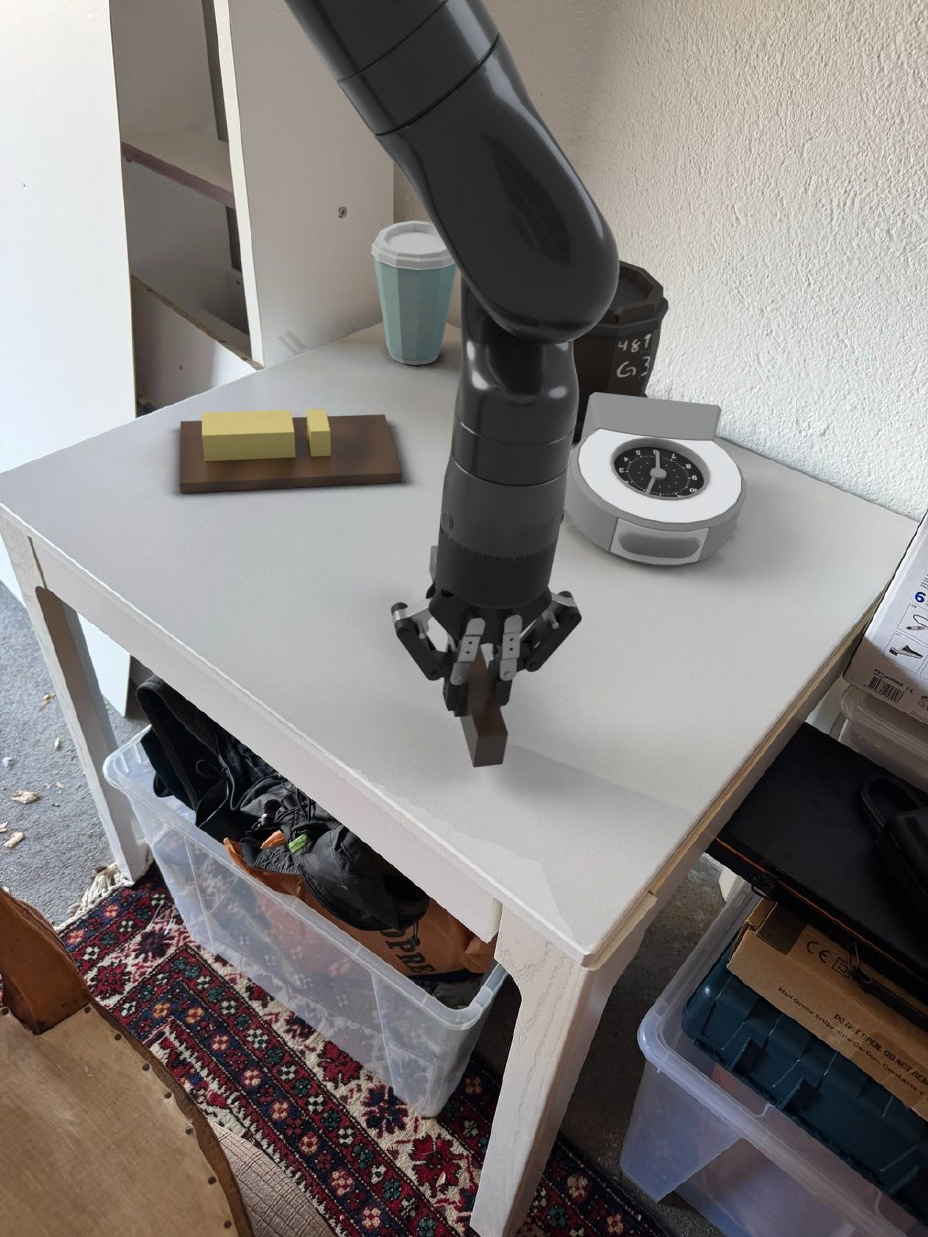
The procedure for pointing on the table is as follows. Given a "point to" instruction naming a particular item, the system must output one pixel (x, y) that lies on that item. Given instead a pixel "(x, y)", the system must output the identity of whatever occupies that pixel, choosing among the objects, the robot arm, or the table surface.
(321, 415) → the butter pat
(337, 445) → the board
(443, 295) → the disposable coffee cup
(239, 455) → the butter stick
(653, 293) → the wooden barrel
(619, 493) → the alarm clock
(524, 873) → the table surface
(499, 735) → the knife
